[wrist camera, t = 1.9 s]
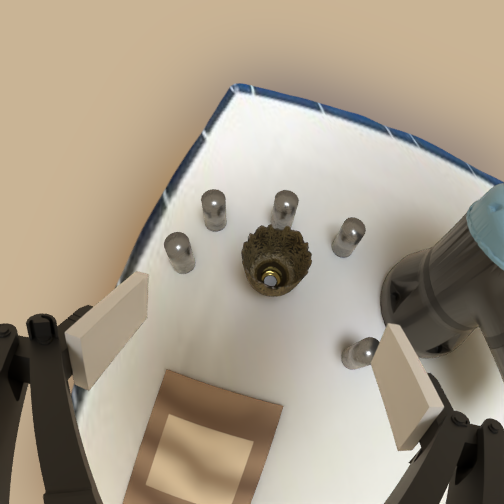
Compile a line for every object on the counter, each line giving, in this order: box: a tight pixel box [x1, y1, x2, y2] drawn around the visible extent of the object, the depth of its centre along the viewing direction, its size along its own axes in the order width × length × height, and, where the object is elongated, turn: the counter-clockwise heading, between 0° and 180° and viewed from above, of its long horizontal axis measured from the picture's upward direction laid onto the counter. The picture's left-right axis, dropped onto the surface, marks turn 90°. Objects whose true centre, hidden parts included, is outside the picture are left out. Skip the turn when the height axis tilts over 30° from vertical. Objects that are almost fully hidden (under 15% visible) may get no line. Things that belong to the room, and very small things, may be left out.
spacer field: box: [164, 189, 380, 370], centre depth 37 cm, size 22×29×6 cm
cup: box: [242, 224, 312, 297], centre depth 36 cm, size 8×7×8 cm
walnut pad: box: [123, 370, 283, 504], centre depth 28 cm, size 20×14×1 cm
